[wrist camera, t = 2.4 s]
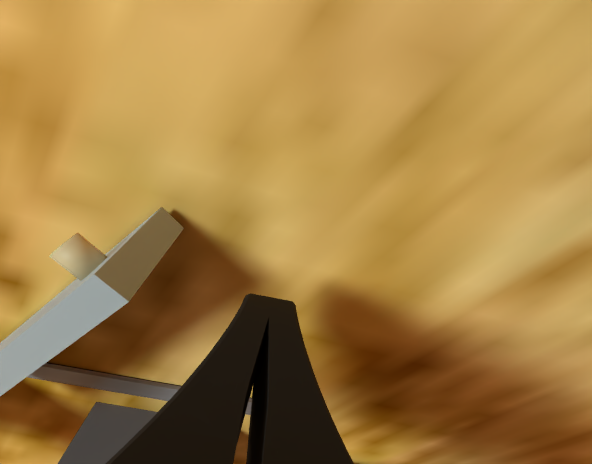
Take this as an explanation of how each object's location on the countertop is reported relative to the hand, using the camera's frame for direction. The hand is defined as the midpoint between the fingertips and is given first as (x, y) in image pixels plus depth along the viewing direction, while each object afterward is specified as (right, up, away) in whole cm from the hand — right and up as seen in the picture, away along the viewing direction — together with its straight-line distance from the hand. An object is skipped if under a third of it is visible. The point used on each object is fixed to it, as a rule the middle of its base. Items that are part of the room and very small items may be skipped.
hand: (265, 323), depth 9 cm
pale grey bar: (-8, 0, +3) cm, 9 cm away
